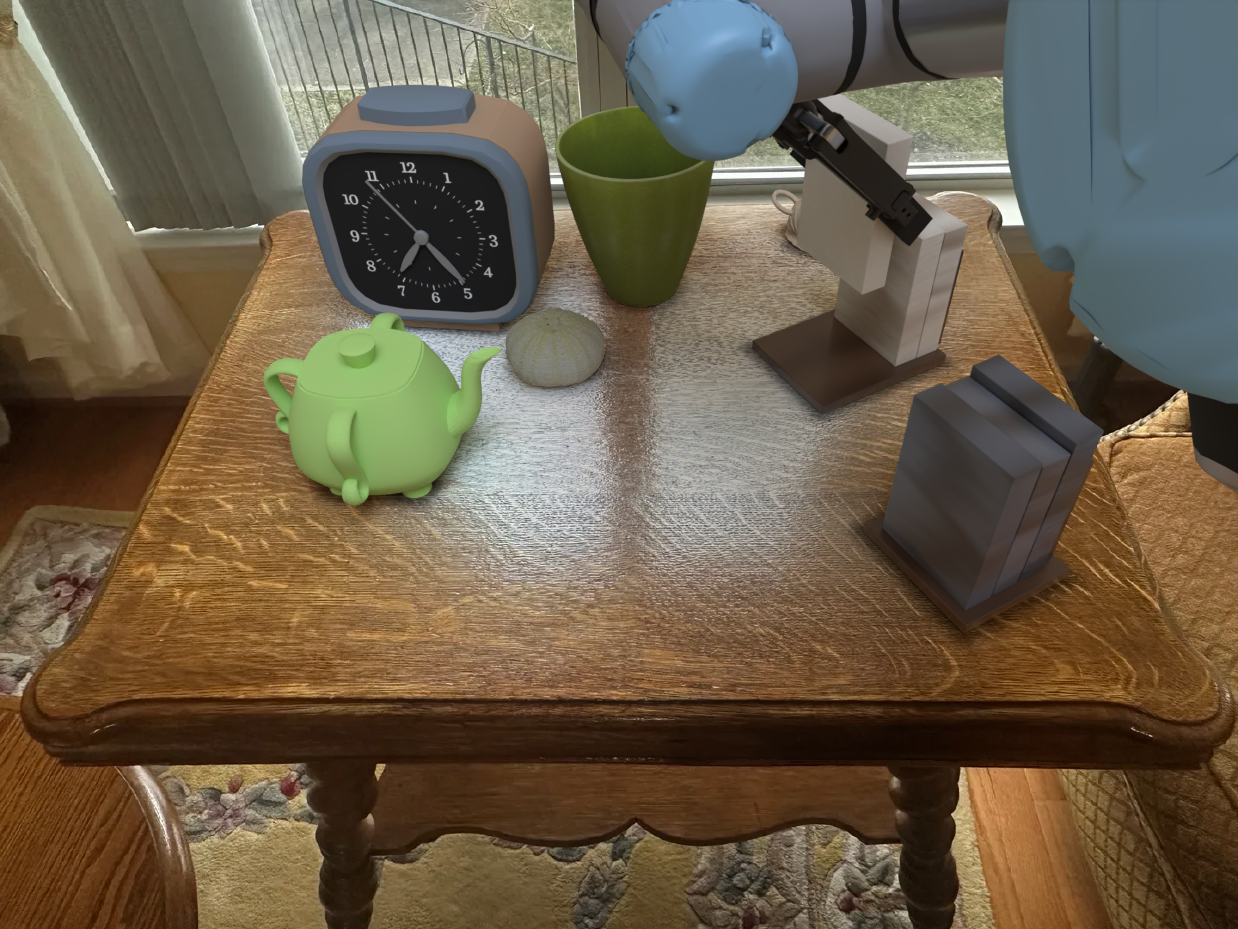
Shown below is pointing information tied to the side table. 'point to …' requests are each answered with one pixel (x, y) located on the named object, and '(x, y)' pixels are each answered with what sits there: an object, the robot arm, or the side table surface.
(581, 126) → the flower pot
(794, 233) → the decorative ornament
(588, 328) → the sea urchin shell
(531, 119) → the alarm clock
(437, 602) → the side table surface
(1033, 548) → the grey rack
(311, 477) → the teapot
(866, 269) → the white book
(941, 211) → the beige and brown bookend
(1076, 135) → the robot arm
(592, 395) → the side table surface
